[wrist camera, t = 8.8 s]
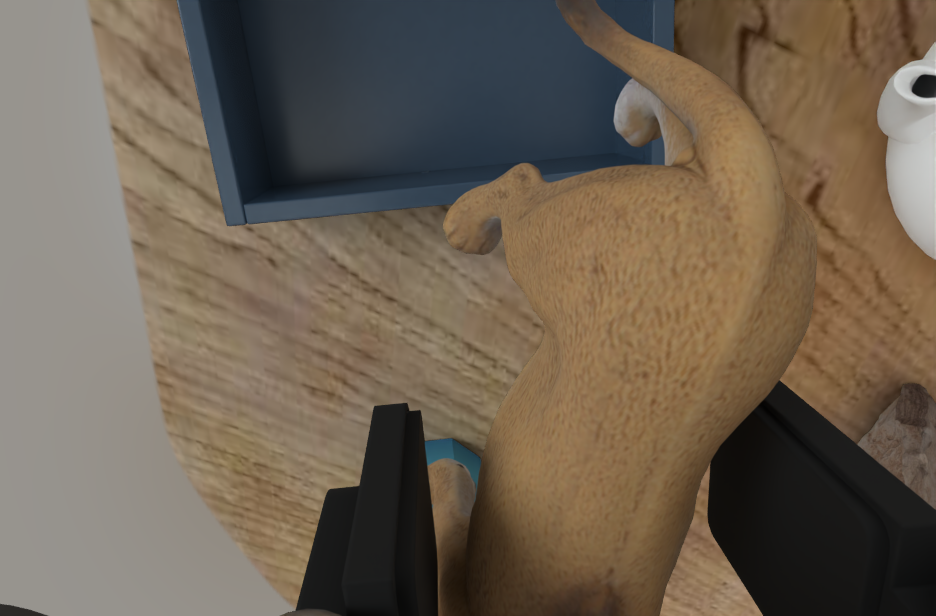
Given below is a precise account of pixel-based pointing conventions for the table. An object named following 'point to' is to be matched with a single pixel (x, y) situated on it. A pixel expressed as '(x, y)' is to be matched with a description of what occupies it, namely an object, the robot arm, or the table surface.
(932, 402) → the stone
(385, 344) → the table surface
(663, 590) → the lion figurine
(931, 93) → the teapot
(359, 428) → the table surface
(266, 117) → the dark blue storage bin
